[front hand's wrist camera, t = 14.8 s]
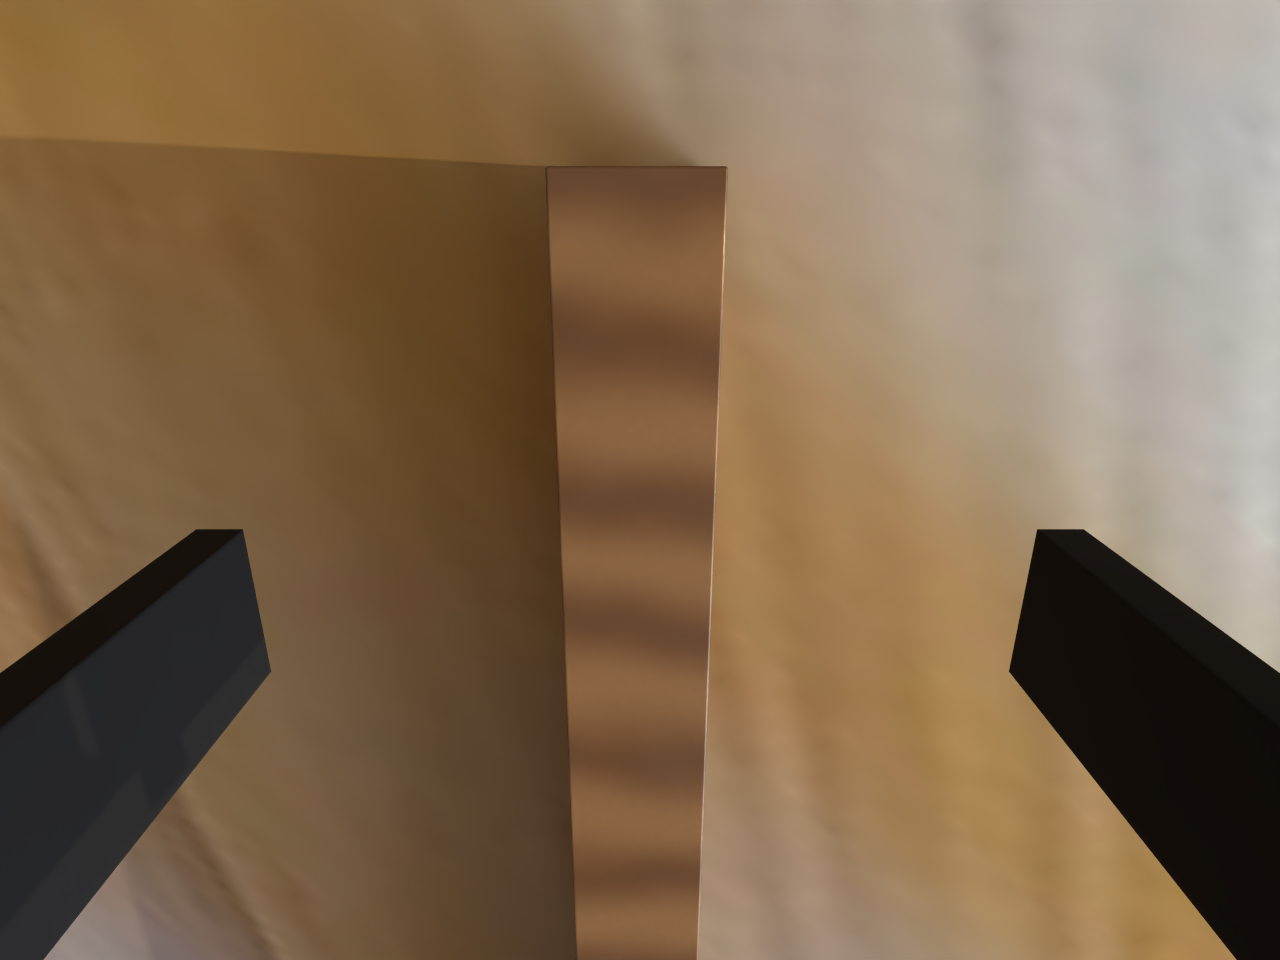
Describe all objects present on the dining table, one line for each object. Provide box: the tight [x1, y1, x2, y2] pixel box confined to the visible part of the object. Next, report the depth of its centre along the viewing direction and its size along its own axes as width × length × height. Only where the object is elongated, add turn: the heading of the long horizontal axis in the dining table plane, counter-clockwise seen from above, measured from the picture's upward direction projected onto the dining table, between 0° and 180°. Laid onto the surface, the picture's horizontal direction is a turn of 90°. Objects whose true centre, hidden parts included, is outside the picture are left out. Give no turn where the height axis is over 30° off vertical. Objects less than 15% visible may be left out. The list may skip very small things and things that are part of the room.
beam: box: [546, 166, 728, 960], centre depth 38 cm, size 67×6×8 cm, turn 0°
